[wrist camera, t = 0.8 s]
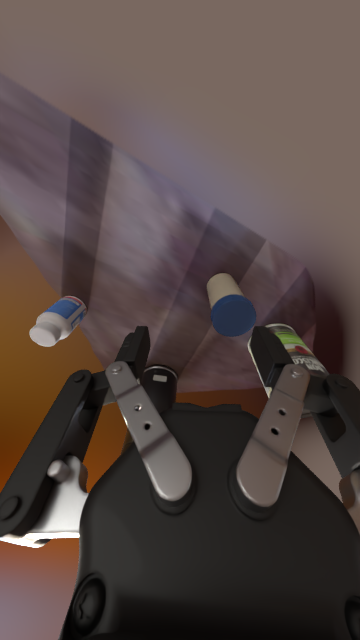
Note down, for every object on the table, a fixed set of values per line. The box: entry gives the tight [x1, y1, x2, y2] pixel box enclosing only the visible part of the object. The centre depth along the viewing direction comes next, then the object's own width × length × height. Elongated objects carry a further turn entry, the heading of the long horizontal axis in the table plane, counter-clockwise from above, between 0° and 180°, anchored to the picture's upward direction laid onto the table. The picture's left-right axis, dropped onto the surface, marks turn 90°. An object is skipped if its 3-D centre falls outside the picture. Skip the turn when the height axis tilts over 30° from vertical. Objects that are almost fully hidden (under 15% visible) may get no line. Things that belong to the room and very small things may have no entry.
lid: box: [211, 294, 256, 337], centre depth 25 cm, size 6×6×2 cm
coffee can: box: [248, 324, 329, 418], centre depth 34 cm, size 10×10×14 cm
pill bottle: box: [30, 296, 87, 347], centre depth 33 cm, size 6×5×10 cm
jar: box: [207, 273, 246, 310], centre depth 29 cm, size 5×5×11 cm
